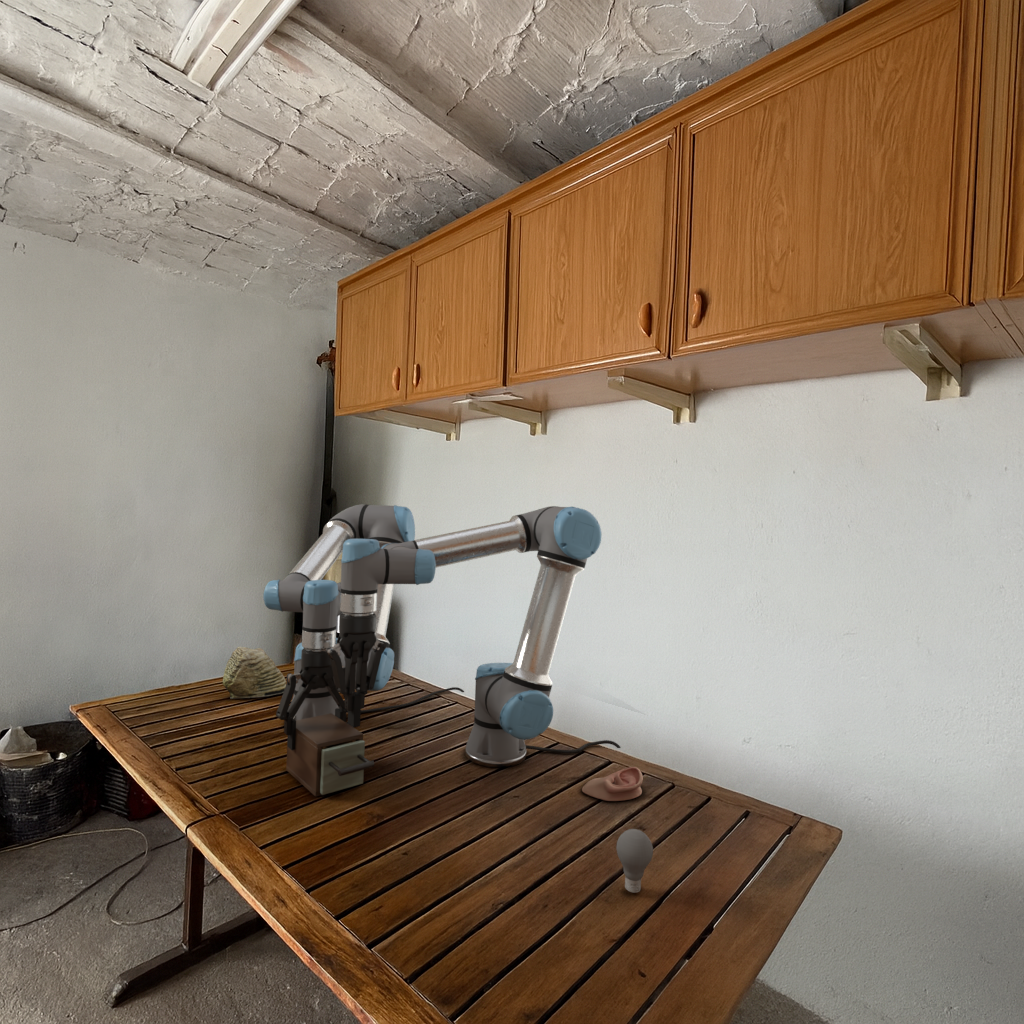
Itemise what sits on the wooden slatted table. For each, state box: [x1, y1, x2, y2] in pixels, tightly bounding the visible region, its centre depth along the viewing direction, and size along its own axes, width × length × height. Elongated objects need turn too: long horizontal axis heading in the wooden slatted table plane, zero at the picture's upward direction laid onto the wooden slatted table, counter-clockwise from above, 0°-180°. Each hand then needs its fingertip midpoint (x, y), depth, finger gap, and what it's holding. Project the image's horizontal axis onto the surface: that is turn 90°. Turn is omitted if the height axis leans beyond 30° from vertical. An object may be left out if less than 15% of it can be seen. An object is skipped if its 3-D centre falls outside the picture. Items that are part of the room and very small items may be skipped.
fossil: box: [222, 646, 287, 699], centre depth 198 cm, size 9×18×15 cm, turn 132°
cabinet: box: [285, 713, 364, 797], centre depth 143 cm, size 16×11×11 cm, turn 41°
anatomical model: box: [581, 766, 644, 802], centre depth 142 cm, size 13×4×12 cm
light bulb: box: [615, 828, 654, 894], centre depth 106 cm, size 6×6×10 cm
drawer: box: [320, 739, 375, 796], centre depth 139 cm, size 21×9×9 cm, turn 41°
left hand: (315, 742), depth 147 cm, fingers closed on cabinet, 11 cm apart
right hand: (353, 724), depth 133 cm, fingers closed
